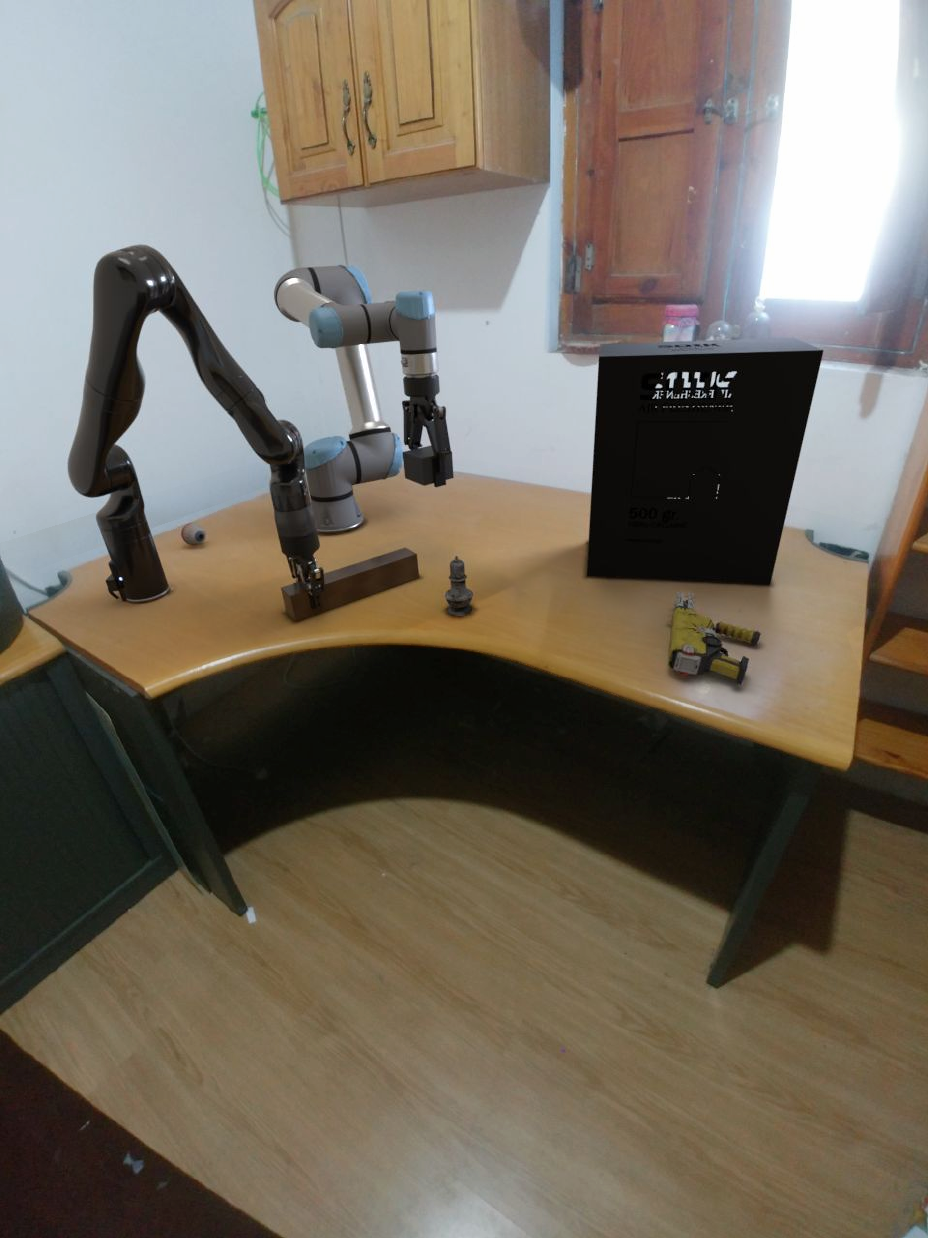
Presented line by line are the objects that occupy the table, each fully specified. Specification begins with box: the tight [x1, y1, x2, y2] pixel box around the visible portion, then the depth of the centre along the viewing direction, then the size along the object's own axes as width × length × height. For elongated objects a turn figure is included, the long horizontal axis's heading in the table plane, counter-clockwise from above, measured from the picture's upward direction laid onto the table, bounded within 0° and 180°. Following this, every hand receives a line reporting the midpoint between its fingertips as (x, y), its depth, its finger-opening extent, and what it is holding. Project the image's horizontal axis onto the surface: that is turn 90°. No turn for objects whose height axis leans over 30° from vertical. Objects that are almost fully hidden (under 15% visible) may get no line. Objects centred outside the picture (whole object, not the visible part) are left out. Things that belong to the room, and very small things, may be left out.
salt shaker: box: [444, 555, 474, 617], centre depth 120 cm, size 6×6×12 cm
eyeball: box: [180, 522, 207, 547], centre depth 160 cm, size 6×6×6 cm
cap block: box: [403, 445, 454, 487], centre depth 135 cm, size 8×8×6 cm
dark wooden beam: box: [280, 547, 420, 623], centre depth 130 cm, size 30×5×6 cm, turn 126°
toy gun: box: [667, 591, 761, 686], centre depth 106 cm, size 5×24×15 cm
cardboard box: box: [586, 337, 824, 586], centre depth 127 cm, size 38×20×45 cm, turn 78°
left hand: (312, 603), depth 126 cm, fingers closed on dark wooden beam, 5 cm apart
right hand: (429, 481), depth 137 cm, fingers closed on cap block, 8 cm apart
